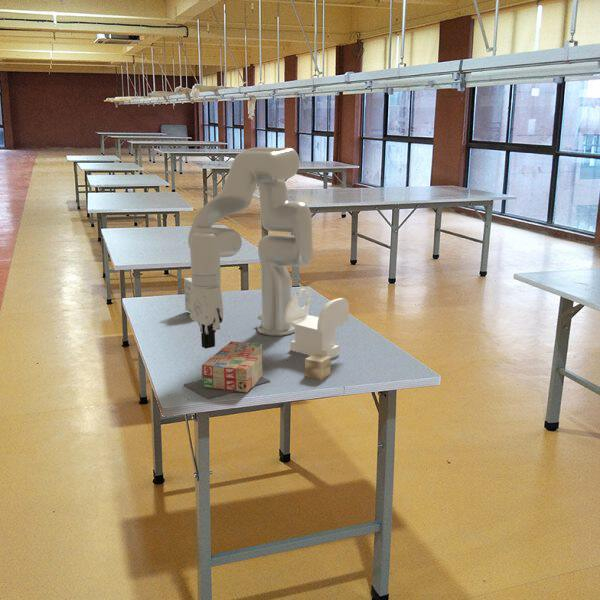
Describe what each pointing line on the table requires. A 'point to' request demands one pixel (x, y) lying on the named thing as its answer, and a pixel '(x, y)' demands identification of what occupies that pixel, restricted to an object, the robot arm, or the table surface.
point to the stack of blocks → (234, 367)
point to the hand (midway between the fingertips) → (208, 346)
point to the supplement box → (187, 292)
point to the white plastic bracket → (316, 325)
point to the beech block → (317, 366)
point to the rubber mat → (211, 393)
